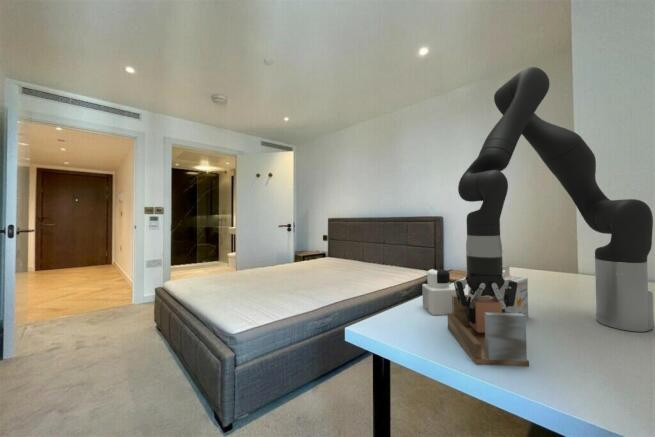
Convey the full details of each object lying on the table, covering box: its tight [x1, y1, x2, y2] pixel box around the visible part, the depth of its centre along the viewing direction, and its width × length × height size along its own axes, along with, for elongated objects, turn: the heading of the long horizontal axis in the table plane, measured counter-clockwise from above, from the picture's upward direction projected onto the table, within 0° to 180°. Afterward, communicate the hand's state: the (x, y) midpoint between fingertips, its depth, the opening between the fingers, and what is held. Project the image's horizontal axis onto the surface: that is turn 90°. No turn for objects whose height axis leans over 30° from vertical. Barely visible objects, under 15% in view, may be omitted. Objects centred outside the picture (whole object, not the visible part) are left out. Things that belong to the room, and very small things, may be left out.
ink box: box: [499, 264, 529, 319], centre depth 75 cm, size 8×5×15 cm, turn 123°
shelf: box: [447, 294, 530, 367], centre depth 60 cm, size 10×17×10 cm, turn 172°
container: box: [421, 268, 456, 316], centre depth 83 cm, size 8×8×13 cm
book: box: [470, 298, 502, 332], centre depth 63 cm, size 6×4×7 cm
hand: (485, 322), depth 63 cm, fingers closed on book, 5 cm apart
